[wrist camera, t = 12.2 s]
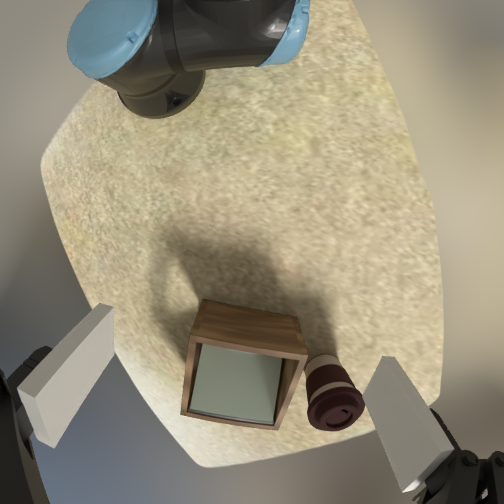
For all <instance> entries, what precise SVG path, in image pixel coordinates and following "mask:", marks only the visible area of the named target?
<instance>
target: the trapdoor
mask: <svg viewBox="0 0 504 504" xmlns="http://www.w3.org/2000/svg"><path fill="white" fill-rule="evenodd" d="M281 364H282V358H280V357H273V356H267V355H261V354H253V353H247V352H241V351H236V350H231V349H227V348H222V347H217V346H212V345H207V344H202V349H201V354H200V359H199V364H198V369H197V375H196V380H195V385H194V390H193V395H192V401H191V406H189V411H191V412H196V413H201V414H206V415H211V416H216V417H222V418H228V419H234V420H241V421H248V422H256V423H264V424H273V423H274V419H273V416H274V410H275V404H276V398H277V391H278V385H279V378H280V371H281Z"/></svg>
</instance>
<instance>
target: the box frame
mask: <svg viewBox="0 0 504 504" xmlns="http://www.w3.org/2000/svg"><path fill="white" fill-rule="evenodd" d="M201 343H202V344H207V345H212V346H217V347H222V348H227V349H232V350H238V351H243V352H249V353H255V354H261V355H267V356H273V357H280V358H282V364H281V371H280V378H279V385H278V391H277V398H276V404H275V410H274V416H273V419H274V423H273V424H264V423H256V422H248V421H241V420H234V419H228V418H222V417H216V416H211V415H206V414H201V413H196V412H191V411H189V406H191V401H192V395H193V390H194V385H195V380H196V375H197V369H198V362H199V356H200V349H201ZM307 358H308V353H307V349H306V346H305V343H304V339H303V336H302V333H301V329H300V326H299V323H298V319H297V317H294V316H288V315H283V314H277V313H271V312H266V311H260V310H255V309H250V308H245V307H240V306H235V305H230V304H225V303H220V302H215V301H210V300H205V299H203V301H202V303H201V306H200V309H199V311H198V314H197V317H196V319H195V322H194V325H193V327H192V330H191V333H190V337H189V344H188V352H187V360H186V368H185V376H184V385H183V394H182V403H181V413H180V415H184V416H188V417H193V418H198V419H202V420H208V421H213V422H218V423H224V424H230V425H237V426H244V427H251V428H259V429H268V430H278V429H279V427H280V425H281V423H282V420H283V418H284V416H285V413H286V411H287V409H288V406H289V404H290V401H291V399H292V396H293V394H294V391H295V389H296V386H297V384H298V381H299V379H300V376H301V374H302V371H303V369H304V366H305V363H306V361H307Z"/></svg>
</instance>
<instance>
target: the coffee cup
mask: <svg viewBox="0 0 504 504" xmlns="http://www.w3.org/2000/svg"><path fill="white" fill-rule="evenodd" d="M305 375H306V391H307V399H308V410H307V415H308V420H309V422H310V424H311V425H312V426H313V427H315V428H316V429H319V430H324V431H339V430H343V429H345V428H347V427H349V426H351V425H352V424H353V423H354V422H355V421H356V420H357V419H358V418H359V417H360V416H361V414H362V413H363V411H364V408H365V402H364V400H363V398H362V394H361V393H360V391H358V390H357V389H356V388H355V386H354V384H353V382H352V380H351V379H350V377H349V375H348V374H347V372H346V370H345V369H344V368H343V367H342V365H341V364H340V362H339V360H338V359H337V358H336V357H334V356H332V355H320V356H317V357H315V358H313V359H312V360H311V361H310V362H309V363H308V364H307V366H306V369H305Z"/></svg>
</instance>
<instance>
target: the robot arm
mask: <svg viewBox="0 0 504 504" xmlns="http://www.w3.org/2000/svg"><path fill="white" fill-rule="evenodd" d="M309 7H310V0H90V1H89V2H88V3H87V4H86V5H85V7H84V8H83V10H82V11H81V12H80V13H79V14H78V15H77V17H76V18H75V20H74V22H73V24H72V26H71V28H70V31H69V34H68V39H67V52H68V56H69V59H70V61H71V62H72V64H73V65H74V66H75V67H77V68H78V69H79V70H81V71H82V72H83V73H84V74H85V75H86V76H87V77H89V78H93V79H95V80H97V81H99V82H101V83H103V84H105V85H107V86H109V87H111V88H113V89H114V90H116V91H117V93H118V96H119V98H120V100H121V102H122V103H123V104H124V106H125V107H126V108H127V109H129V110H130V111H131V112H133V113H135V114H137V115H139V116H142V117H145V118H150V119H160V118H166V117H169V116H172V115H175V114H177V113H179V112H180V111H182V110H184V109H185V108H186V107H188V106H189V105H190V104H191V103H192V102H193V101H194V100H195V98H196V97H197V96H198V94H199V93H200V91H201V89H202V87H203V84H204V80H205V70H210V69H220V68H232V67H248V66H254V67H262V66H265V65H275V64H285V63H288V62H290V61H292V60H293V59H294V58H295V57H296V56H297V55H298V53H299V52H300V50H301V48H302V46H303V43H304V40H305V37H306V33H307V29H308V24H309V14H308V11H309ZM113 355H114V307H112V306H108V305H105V304H102V303H99V304H98V305H97V306H96V307H95V308H94V309H93V310H92V311H91V312H90V313H89V314H88V315H87V316H86V317H85V318H84V319H83V320H82V321H81V322H79V324H77V325H76V326H75V328H74V329H72V330H71V331H70V332H69V333H68V334H67V335H66V337H65V338H63V339H62V340H61V342H60V343H59V344H58V345H57V346H56V347H55V348H54V349H52V348H50V347H48V346H44V347H42V348H39V349H37V350H36V351H34V352H33V354H31V355H30V356H29V358H28V359H26V360H25V361H24V362H23V365H22V364H21V365H20V366H19V367H18V368H17V369H16V370H15V371H14V372H13V373H12V374H11V376H10V377H9V378H8V379H7V380H6V379H5V376H4V373H3V371H2V370H1V369H0V504H50V502H49V500H48V497H47V494H46V491H45V488H44V485H43V482H42V479H41V476H40V473H39V469H38V466H37V462H36V459H35V455H34V451H33V447H32V443H31V440H30V437H29V436H30V435H31V433H32V432H33V431H34V433H35V435H36V437H37V439H38V440H39V441H41V442H43V443H45V444H47V445H49V446H51V447H53V448H55V446H56V444H57V443H58V441H59V440H60V438H61V436H62V435H63V433H64V431H65V430H66V428H67V426H68V425H69V423H70V421H71V420H72V418H73V417H74V415H75V413H76V412H77V410H78V409H79V407H80V405H81V404H82V402H83V401H84V399H85V398H86V396H87V395H88V393H89V391H90V390H91V388H92V387H93V385H94V384H95V382H96V381H97V379H98V378H99V376H100V375H101V373H102V372H103V370H104V369H105V367H106V366H107V364H108V363H109V361H110V360H111V358H112V357H113ZM362 398H363V400H364V402H365V405H366V407H367V409H368V411H369V414H370V416H371V418H372V421H373V423H374V425H375V428H376V430H377V432H378V435H379V437H380V439H381V442H382V444H383V447H384V449H385V451H386V454H387V456H388V459H389V461H390V464H391V466H392V469H393V471H394V473H395V476H396V478H397V481H398V484H399V486H400V488H401V491H402V492H406V491H410V490H415V489H417V488H418V487H419V486H420V485H421V484H422V483H423V482H424V481H425V484H426V487H425V488H424V489H423V490H422V491H421V492H419V493H418V494H417V495H416V496H415V497H414V498H413V500H412V501H415V500H416V499H417V498H418V497H420V498H419V500H418V501H417V504H504V453H503V452H500V451H495V452H494V453H492V455H491V456H490V457H489V458H488V459H478V457H477V456H476V455H475V454H474V453H472V452H471V451H469V450H461V449H460V447H459V446H458V444H457V442H456V441H455V439H454V438H453V436H452V435H451V433H450V431H449V430H447V427H446V425H445V424H443V421H442V419H441V418H440V416H439V415H438V414H437V413H436V412H435V411H434V410H433V409H431V408H429V407H428V406H427V404H426V403H425V401H424V400H423V398H422V397H421V395H420V394H419V392H418V391H417V389H416V388H415V386H414V385H413V383H412V382H411V380H410V379H409V377H408V376H407V374H406V373H405V371H404V370H403V369H402V367H401V366H400V364H399V363H398V361H397V360H396V358H395V357H389V356H382V358H381V360H380V362H379V364H378V366H377V368H376V370H375V372H374V374H373V376H372V378H371V380H370V382H369V384H368V386H367V388H366V390H365V392H364V393H363V395H362ZM486 491H488V495H487V496H486V497H485V498H484V499H482V494H483V493H484V492H486Z"/></svg>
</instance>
